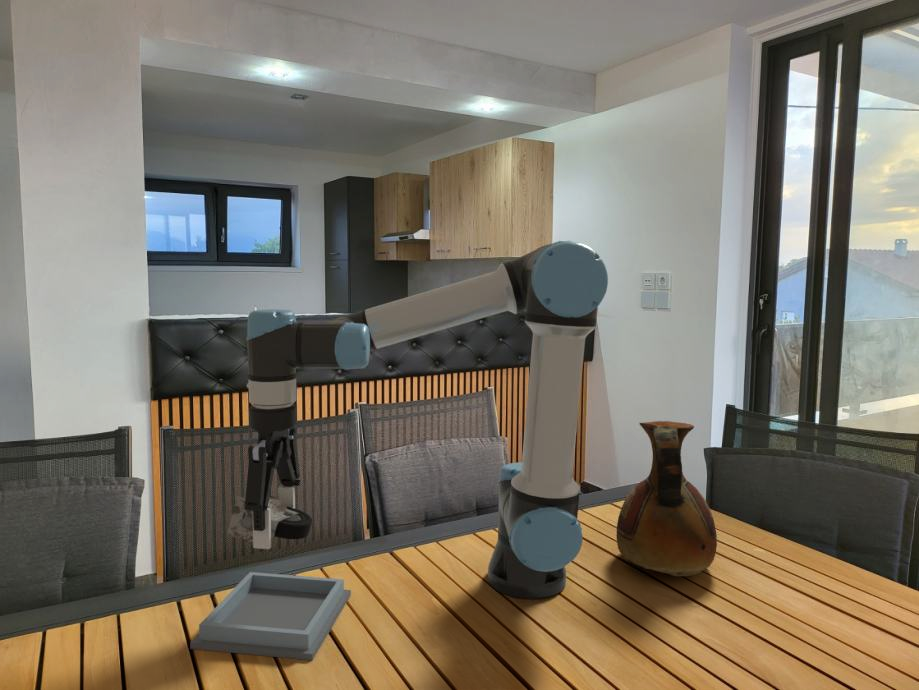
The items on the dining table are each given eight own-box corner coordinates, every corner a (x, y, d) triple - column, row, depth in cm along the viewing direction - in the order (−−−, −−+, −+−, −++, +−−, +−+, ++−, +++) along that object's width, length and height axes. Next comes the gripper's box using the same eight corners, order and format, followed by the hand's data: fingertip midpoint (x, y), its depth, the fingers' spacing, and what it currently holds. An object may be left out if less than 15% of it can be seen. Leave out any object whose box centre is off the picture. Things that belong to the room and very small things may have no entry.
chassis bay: (350, 595, 118) (350, 577, 118) (312, 660, 98) (312, 638, 98) (247, 586, 121) (247, 569, 120) (190, 648, 101) (189, 627, 101)
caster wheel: (314, 543, 111) (282, 559, 101) (260, 521, 114) (224, 534, 105) (324, 506, 111) (293, 519, 101) (269, 485, 114) (234, 495, 104)
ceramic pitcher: (704, 548, 141) (712, 414, 137) (725, 593, 121) (735, 439, 117) (612, 540, 144) (618, 409, 140) (618, 583, 124) (625, 432, 121)
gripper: (278, 390, 116) (280, 509, 119) (217, 418, 95) (221, 562, 97) (318, 392, 116) (319, 511, 118) (266, 420, 94) (269, 566, 96)
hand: (275, 534), depth 108 cm, fingers closed on caster wheel, 9 cm apart
